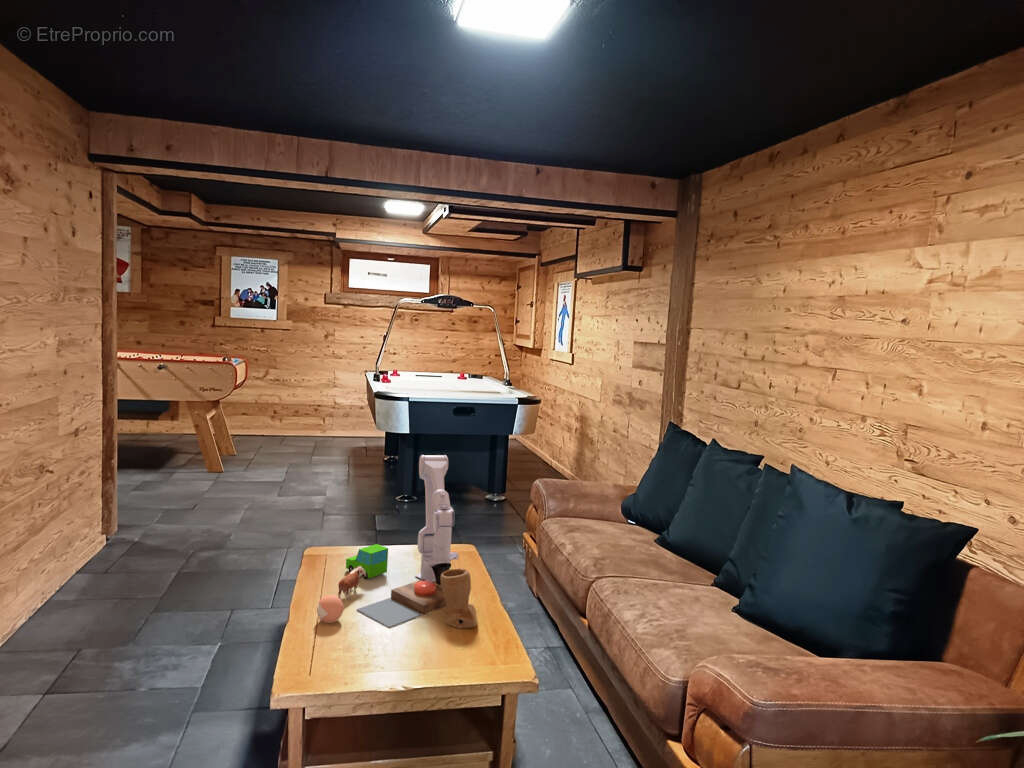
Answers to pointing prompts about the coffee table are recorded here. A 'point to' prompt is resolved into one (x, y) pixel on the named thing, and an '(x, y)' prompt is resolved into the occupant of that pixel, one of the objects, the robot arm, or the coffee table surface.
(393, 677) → the coffee table surface
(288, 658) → the coffee table surface
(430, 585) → the red ball
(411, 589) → the board
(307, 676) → the coffee table surface
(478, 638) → the coffee table surface
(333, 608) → the egg
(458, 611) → the brown boot
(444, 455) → the robot arm
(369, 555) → the toy car
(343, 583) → the bull figurine
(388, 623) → the mat
